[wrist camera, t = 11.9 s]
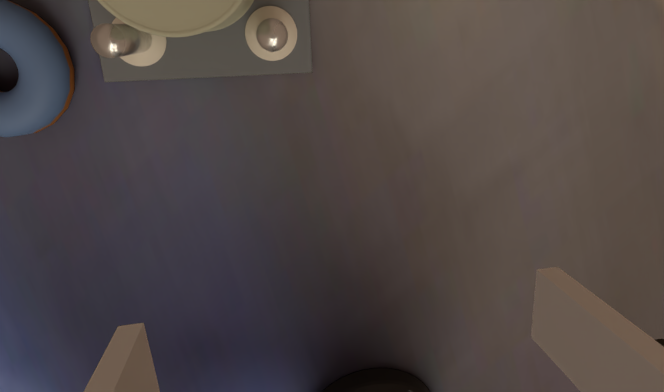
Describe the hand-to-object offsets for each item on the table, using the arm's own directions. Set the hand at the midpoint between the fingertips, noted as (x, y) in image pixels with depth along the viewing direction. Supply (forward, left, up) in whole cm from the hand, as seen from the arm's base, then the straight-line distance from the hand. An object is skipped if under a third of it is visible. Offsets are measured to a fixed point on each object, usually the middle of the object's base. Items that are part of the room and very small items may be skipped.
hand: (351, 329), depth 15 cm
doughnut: (+7, +22, -27) cm, 35 cm away
